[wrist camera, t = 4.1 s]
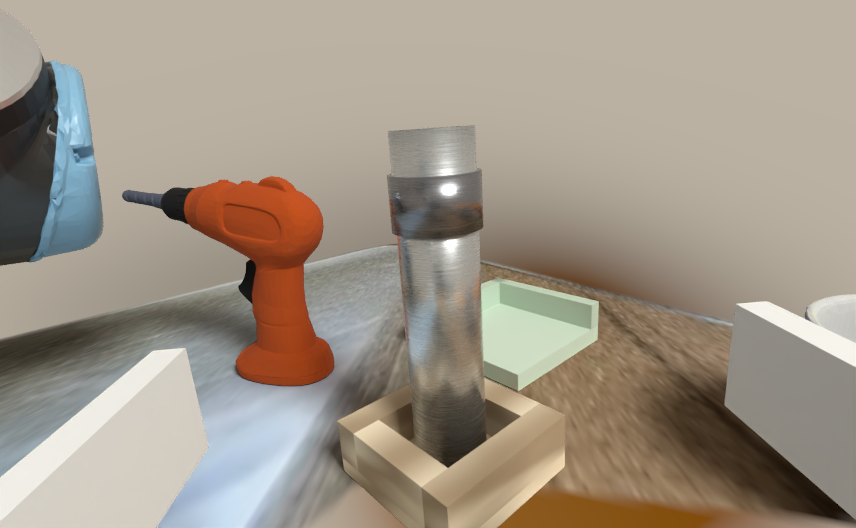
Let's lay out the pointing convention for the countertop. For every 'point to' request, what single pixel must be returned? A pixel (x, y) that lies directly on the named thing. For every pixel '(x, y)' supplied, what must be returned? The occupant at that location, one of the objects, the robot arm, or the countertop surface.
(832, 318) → the teacup
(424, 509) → the socket
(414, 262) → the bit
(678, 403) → the countertop surface
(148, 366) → the robot arm
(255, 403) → the countertop surface
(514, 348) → the pale green flat tray
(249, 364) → the toy drill
